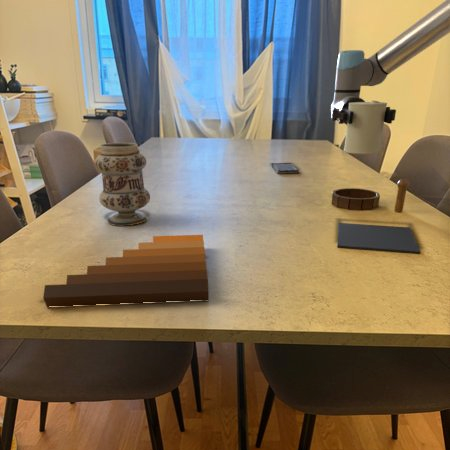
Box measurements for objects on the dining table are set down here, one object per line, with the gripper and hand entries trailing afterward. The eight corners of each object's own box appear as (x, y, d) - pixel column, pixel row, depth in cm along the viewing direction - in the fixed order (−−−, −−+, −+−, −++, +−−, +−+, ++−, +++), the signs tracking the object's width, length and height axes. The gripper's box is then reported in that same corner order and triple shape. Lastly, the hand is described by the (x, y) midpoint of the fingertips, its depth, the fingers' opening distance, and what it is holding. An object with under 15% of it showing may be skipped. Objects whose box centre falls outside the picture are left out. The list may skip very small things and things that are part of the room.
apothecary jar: (151, 212, 113) (145, 140, 105) (152, 226, 103) (145, 147, 95) (104, 214, 112) (94, 141, 103) (100, 229, 101) (88, 148, 93)
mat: (409, 229, 100) (410, 227, 99) (419, 254, 86) (420, 251, 86) (338, 224, 103) (338, 222, 103) (337, 247, 89) (337, 245, 89)
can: (387, 151, 111) (395, 100, 106) (363, 155, 107) (370, 102, 101) (359, 147, 118) (365, 99, 112) (336, 151, 113) (341, 100, 108)
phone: (290, 162, 170) (299, 170, 157) (290, 165, 170) (298, 173, 157) (270, 163, 169) (277, 170, 156) (270, 166, 170) (277, 173, 157)
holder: (399, 201, 122) (404, 170, 118) (404, 213, 111) (410, 180, 107) (332, 197, 126) (335, 168, 122) (330, 209, 115) (334, 177, 111)
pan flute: (45, 310, 66) (208, 303, 68) (41, 290, 65) (208, 283, 66) (81, 251, 88) (203, 247, 90) (78, 235, 87) (202, 231, 88)
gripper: (387, 125, 125) (413, 133, 105) (313, 125, 127) (324, 134, 107) (391, 96, 122) (419, 100, 102) (315, 97, 123) (327, 100, 103)
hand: (371, 117), depth 104 cm, fingers closed on can, 9 cm apart
